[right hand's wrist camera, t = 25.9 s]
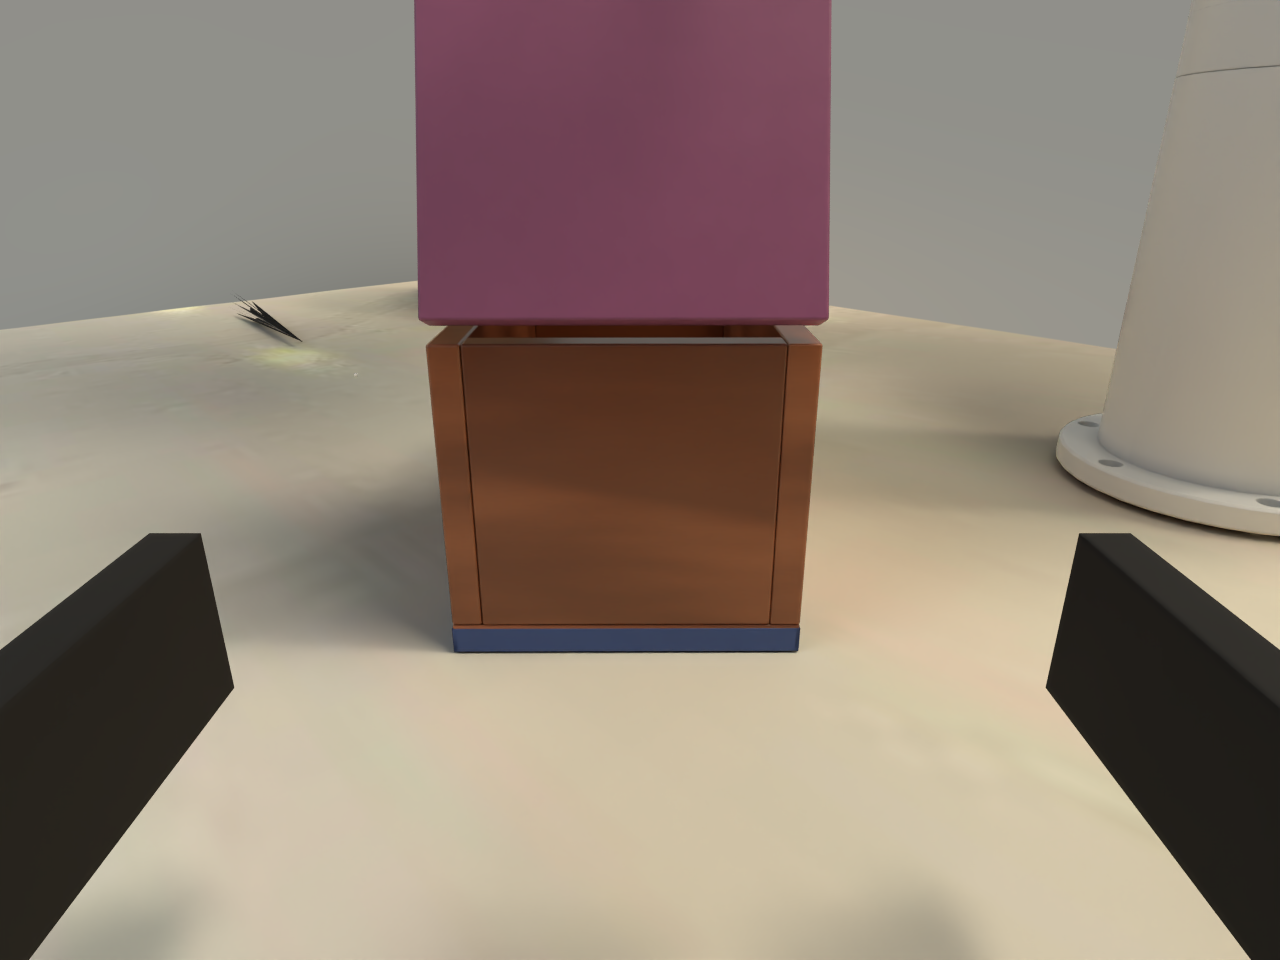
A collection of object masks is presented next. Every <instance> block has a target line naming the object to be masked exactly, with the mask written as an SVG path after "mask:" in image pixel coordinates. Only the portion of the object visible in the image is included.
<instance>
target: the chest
mask: <svg viewBox="0 0 1280 960" xmlns="http://www.w3.org/2000/svg"><path fill="white" fill-rule="evenodd" d="M426 354H427V364H428V375H429V385H430V395H431V406H432V416H433V426H434V437H435V447H436V457H437V468H438V478H439V488H440V499H441V509H442V519H443V530H444V540H445V550H446V561H447V571H448V581H449V592H450V602H451V612H452V622H453V628H452V634H453V645H454V651H455V652H467V651H798V648H799V636H800V627H799V623H800V614H801V601H802V589H803V577H804V565H805V553H806V541H807V528H808V516H809V504H810V492H811V480H812V468H813V455H814V443H815V431H816V419H817V407H818V394H819V382H820V370H821V358H822V344H821V343H820V342H819V341H818V340H817V339H816V338H815V337H814V335H813V334H812V333H811V332H810V331H809V330H808V329H807V328H806V327H805V326H804V325H581V326H446V327H445V328H444V329H443V330H442V331H441V332H440V333H439V334H438V335H437V336H435V337H434V338H433V339H432V340H431V341H430V342H429V343H428V344H427V345H426Z"/></svg>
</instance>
